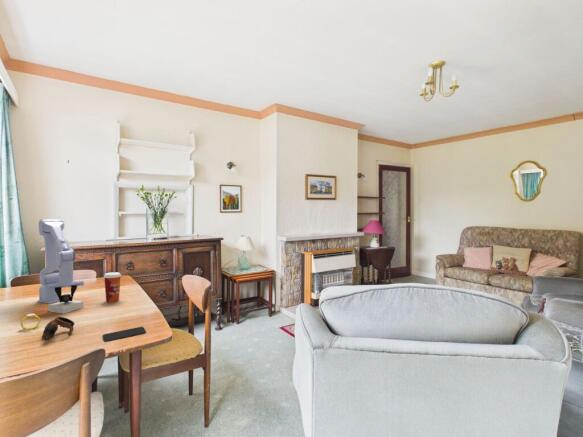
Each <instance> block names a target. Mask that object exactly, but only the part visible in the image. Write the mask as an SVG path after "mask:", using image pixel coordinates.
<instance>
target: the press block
mask: <svg viewBox="0 0 583 437" xmlns="http://www.w3.org/2000/svg"><path fill="white" fill-rule="evenodd" d="M47 306H48V312H50V313H57V314H66V313H69V312H72V311H75V310H80V309H82V308H84V300H75V299H72V301H69V302H68V304H65V302H62V303H60V301H57V302H54V303H49V304H48V305H47Z"/></svg>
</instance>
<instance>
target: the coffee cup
mask: <svg viewBox="0 0 583 437" xmlns="http://www.w3.org/2000/svg"><path fill="white" fill-rule="evenodd" d="M121 276H122V274H121V273H120V272H117V271H115V272H107V273H105V274H104V275H103V278H104V289H105V291H104V292H105V293H104V294H105V302H106V303H109V304H111V303H116V302H119V300H120V290H121V288H120V287H121V278H122V277H121Z"/></svg>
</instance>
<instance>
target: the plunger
mask: <svg viewBox="0 0 583 437" xmlns="http://www.w3.org/2000/svg"><path fill="white" fill-rule="evenodd" d="M61 295H62V302H65V304H68V302H69V301H71V293H66V294H61Z"/></svg>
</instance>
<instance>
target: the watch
mask: <svg viewBox="0 0 583 437" xmlns="http://www.w3.org/2000/svg"><path fill="white" fill-rule="evenodd" d="M33 317H34V318H37V323H36V324H35V325H34V326H30V327H26V326H24V325H23V322H24V320H26V319H27V318H33ZM40 323H41V319H40V316H38V315H36V313H28V314H26V316H24V317H23V318H22V320H21V322H20V327H22V329H23V330H31V329H35V328H37V327H38V326H39V324H40Z"/></svg>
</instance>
